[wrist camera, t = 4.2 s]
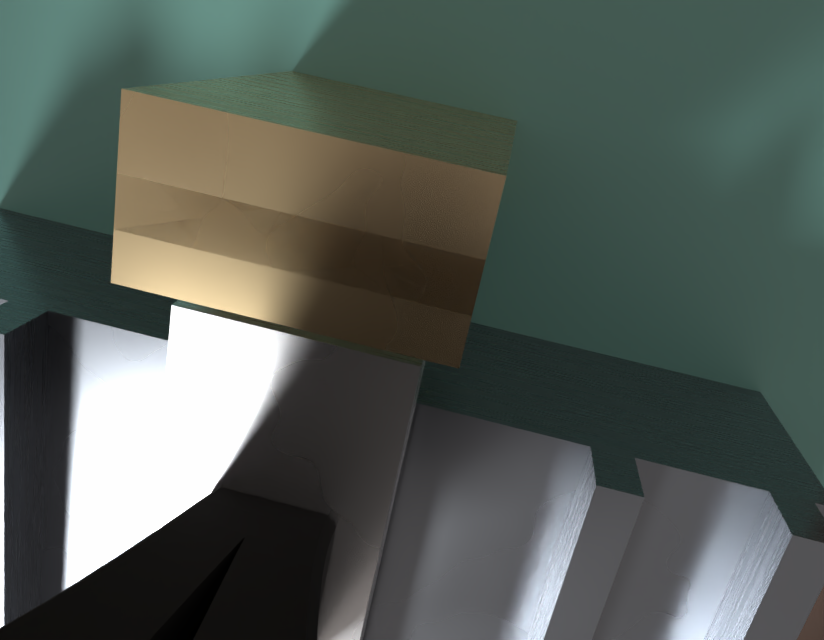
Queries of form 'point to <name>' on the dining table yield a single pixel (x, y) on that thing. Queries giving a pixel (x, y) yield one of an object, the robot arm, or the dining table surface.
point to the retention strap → (289, 435)
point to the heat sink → (399, 333)
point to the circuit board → (517, 153)
